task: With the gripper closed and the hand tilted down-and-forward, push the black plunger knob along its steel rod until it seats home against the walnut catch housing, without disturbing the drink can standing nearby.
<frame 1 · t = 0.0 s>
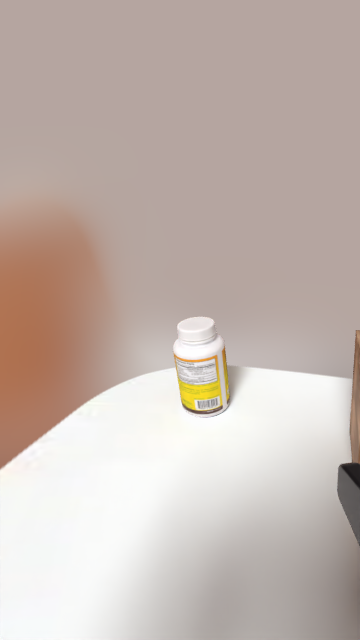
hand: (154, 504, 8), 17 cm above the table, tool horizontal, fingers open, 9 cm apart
supplement bottle: (206, 406, 39), on the table
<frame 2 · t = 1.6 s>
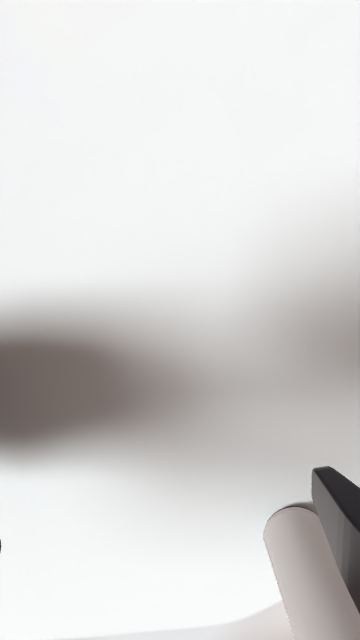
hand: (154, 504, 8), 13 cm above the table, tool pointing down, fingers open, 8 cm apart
beverage can: (289, 522, 28), on the table
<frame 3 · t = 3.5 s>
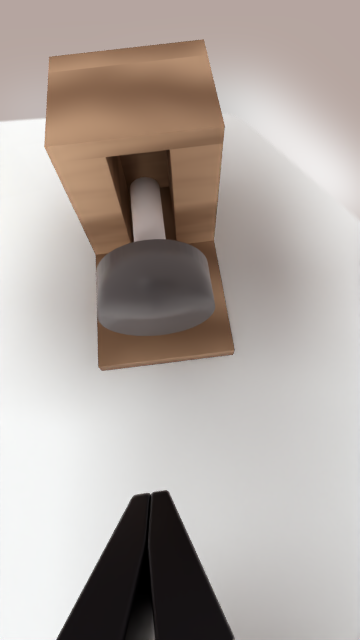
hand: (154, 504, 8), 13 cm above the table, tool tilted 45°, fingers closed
knob: (150, 246, 19), point 7 cm above the table, slide at 0.0 cm
mount: (164, 335, 24), on the table
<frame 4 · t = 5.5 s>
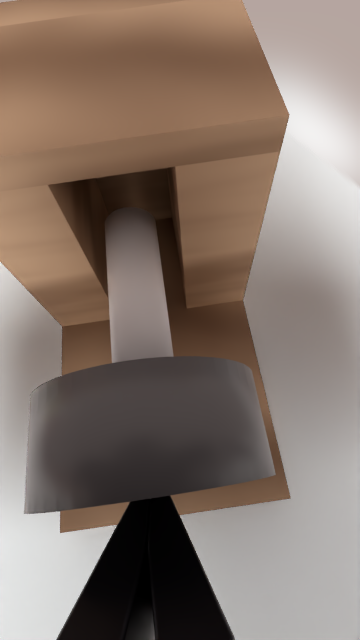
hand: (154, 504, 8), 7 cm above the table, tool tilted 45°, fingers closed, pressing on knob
knob: (140, 335, 10), point 6 cm above the table, slide at 0.4 cm, touching gripper
mount: (171, 460, 15), on the table
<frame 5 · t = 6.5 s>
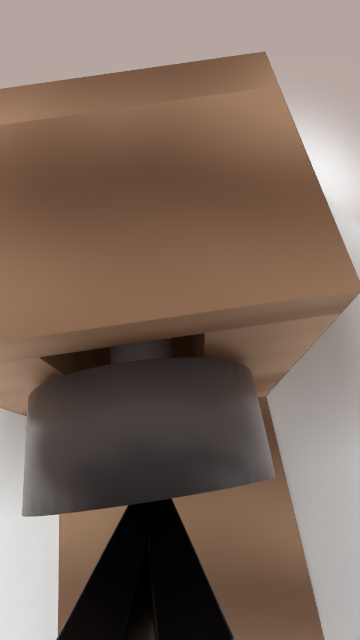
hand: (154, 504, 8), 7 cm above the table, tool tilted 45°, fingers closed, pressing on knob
knob: (140, 335, 10), point 7 cm above the table, slide at 5.1 cm, touching gripper
mount: (186, 596, 13), on the table
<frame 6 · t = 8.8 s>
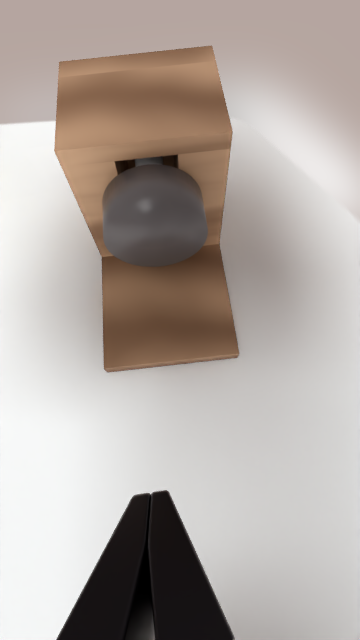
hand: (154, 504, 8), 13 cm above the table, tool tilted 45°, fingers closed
knob: (151, 182, 21), point 6 cm above the table, slide at 5.0 cm
mount: (169, 337, 24), on the table
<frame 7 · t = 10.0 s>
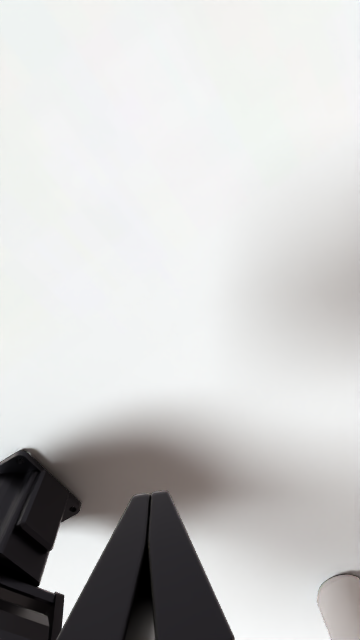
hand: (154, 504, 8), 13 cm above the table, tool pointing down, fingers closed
beverage can: (338, 586, 31), on the table
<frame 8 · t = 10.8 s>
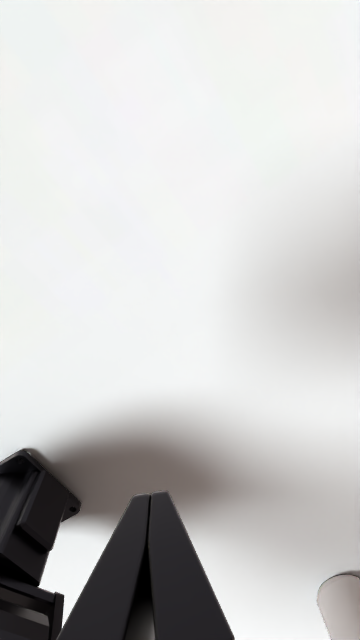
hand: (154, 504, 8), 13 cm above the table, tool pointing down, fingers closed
beverage can: (338, 586, 31), on the table
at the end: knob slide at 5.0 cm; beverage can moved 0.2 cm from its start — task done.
